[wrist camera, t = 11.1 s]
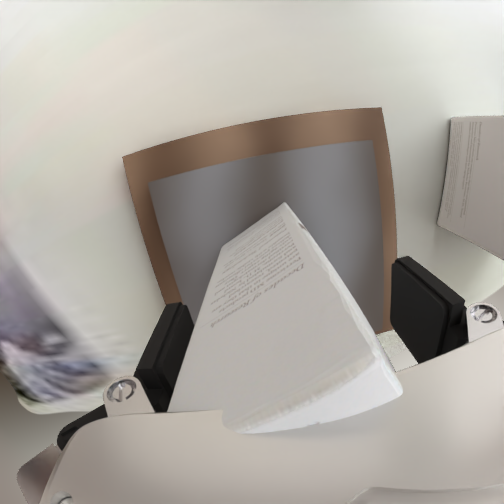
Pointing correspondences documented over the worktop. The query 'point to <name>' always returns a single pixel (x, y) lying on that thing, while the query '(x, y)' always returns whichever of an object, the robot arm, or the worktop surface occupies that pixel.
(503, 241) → the supplement box
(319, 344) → the skincare box
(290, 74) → the worktop surface
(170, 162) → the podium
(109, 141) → the worktop surface
